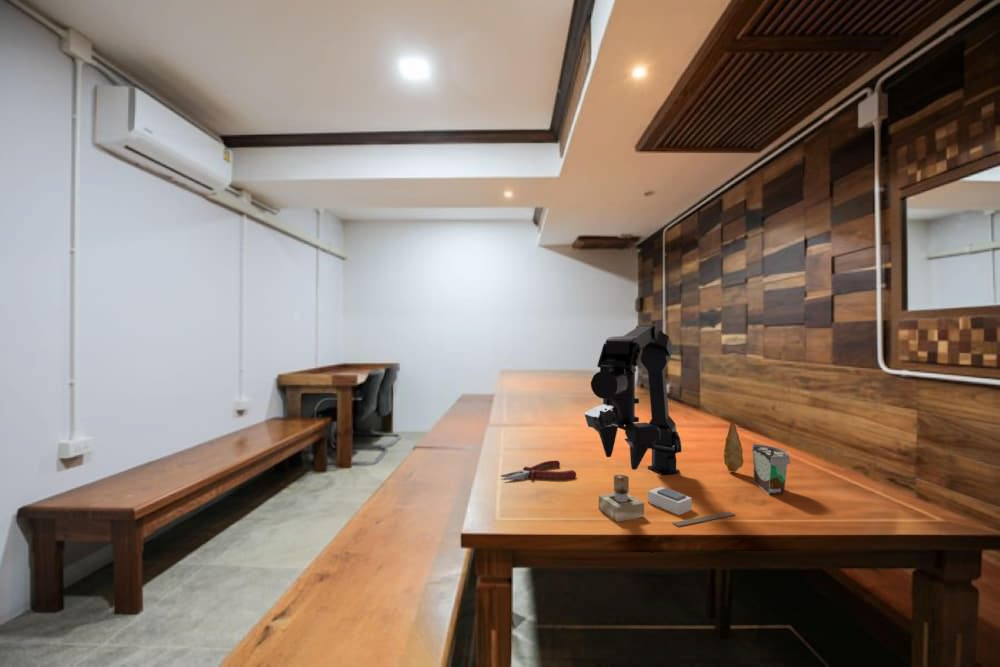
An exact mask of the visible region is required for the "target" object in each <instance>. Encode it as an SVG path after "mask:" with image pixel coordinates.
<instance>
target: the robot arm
mask: <svg viewBox="0 0 1000 667" xmlns="http://www.w3.org/2000/svg"><path fill="white" fill-rule="evenodd" d="M672 355H673V344H672V341H671V338H670V337H669V335H668V334H666V333H664V332H663V331H661V330H660V328H659V327H658V325H655V324H638V325H636V327H635V328H634V329H633V330H631V331H629V332H627V333H626V334H625V335H620V336H616V335H615V336H609V337H607V339H606V340H605V341H604V343H603V345H602V349H601V353H600V355H599V359H598V361H597V365H596V366H597V368H599V371H598V372H596V373H595V374H594V375H593V377H592V379H591V381H590V388H591V391H592V392H593V394H594V395H595V396H596V397H597V398H599V399H603V400H602V402H603V403H602V404H600V405H596V406H595V407H592V408H590V409H589V410H587V411H585V412H584V413H583V414H584V417H585V420H586V424H587V426H588V428H593V429H594V430H595V431H596V432H597V433H598V435H599V437H600V440H601V444H602V447H603V450H604V454H605V457H606V458H611V457H612V456H613V455H612V454H613V451H614V447H615V444H616V443H615V442H616V438H617V434H618V429H621V430H624V434H625V436H626V438H624V440H625V442H626V443H627V444H628V445H629V455H630V467H631V468H630V469H631V470H633V471H635V470H638V468H639V466H640V464H641V462H642V460H643V459H644V456H645V455H646V453H647V452H648V450H651V465H647V469H650V470H652V471H654V472H655V473H657V474H660V475H662V476H663V475H670V474H676V473H678V474H679V473H680V469H678V468H677V457H676V456H677V454H679V453H682V441H681V437H680V435H679V431H677V425H676V422H675V421H674V420H673V419H672V417H671V416H670V412H669V400H668V385H667V375H666V374H667V373H666V372H667V371H666V367H667V365H668V363H669V362H670V360H671V359H672V357H671V356H672ZM639 363H641V364H642V365H643V367H644V369H645V370H646V371H647V376H648V377H647V378H648V389H649V390H648V391H649V400H650V413H651V420H650V421H649V422H640V418H639V416H635V415H636V414H635V412H636V410H635V406H636V404H640V398H636V382H635V381H636V372H637V368H636V367H638V366H639Z"/></svg>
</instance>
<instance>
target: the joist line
mask: <svg viewBox="0 0 1000 667" xmlns="http://www.w3.org/2000/svg"><path fill="white" fill-rule="evenodd" d="M735 515H736V514H735V513H733V512H731V511H725V512H720V513H715V514H710V515H706V516H704V515H703V516H699V517H694V518H691V519H684V520H680V521H675V522H672V524H673V526H675V527H678V528H679V527H683V526H689V525H694V524H699V523H704V522H709V521H713V520H718V519H723V518H728V517H733V516H735Z"/></svg>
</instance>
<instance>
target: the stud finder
mask: <svg viewBox="0 0 1000 667" xmlns="http://www.w3.org/2000/svg"><path fill="white" fill-rule="evenodd" d="M692 501H693V498H692V497H690V496H687V495H686V494H684V493H682V492H679V491H676V490H674V489H670V488H668V487H663V486H659V487H657V488H653V489H650V490H648V491H647V503H648V502H649V504H650V503H652V504H651V505H653V504H654V506H655V505H656V506H655V507H658V506H659V507H658V508H660V507H661V509H662V510H666V511H667V512H670V513H673V514H675V515H677V516H680V515H682V514H686V513H687V512H689V511H692V508H693V507H692V506H693V505H692V504H693V503H692Z"/></svg>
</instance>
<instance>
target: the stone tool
mask: <svg viewBox="0 0 1000 667" xmlns="http://www.w3.org/2000/svg"><path fill="white" fill-rule="evenodd" d="M729 424H730V425H729V428H728V432H727V435H726V438H725V444H724V449H723V451H724V452H723V453H724V454H723V460H724V465H725V466H726V467H727V468H726V469H727V470H728V472H733V473H736V472H737V471H738V470H739V469H740V468H742V467H743V465H744V457H743V455H744V454H743V452H744V451H743V447H742V442H741V440H740V436H739V433H738V431H737V426H736V425H735V422H734V420H733V419H732V420H731V421H730V422H729Z"/></svg>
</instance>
